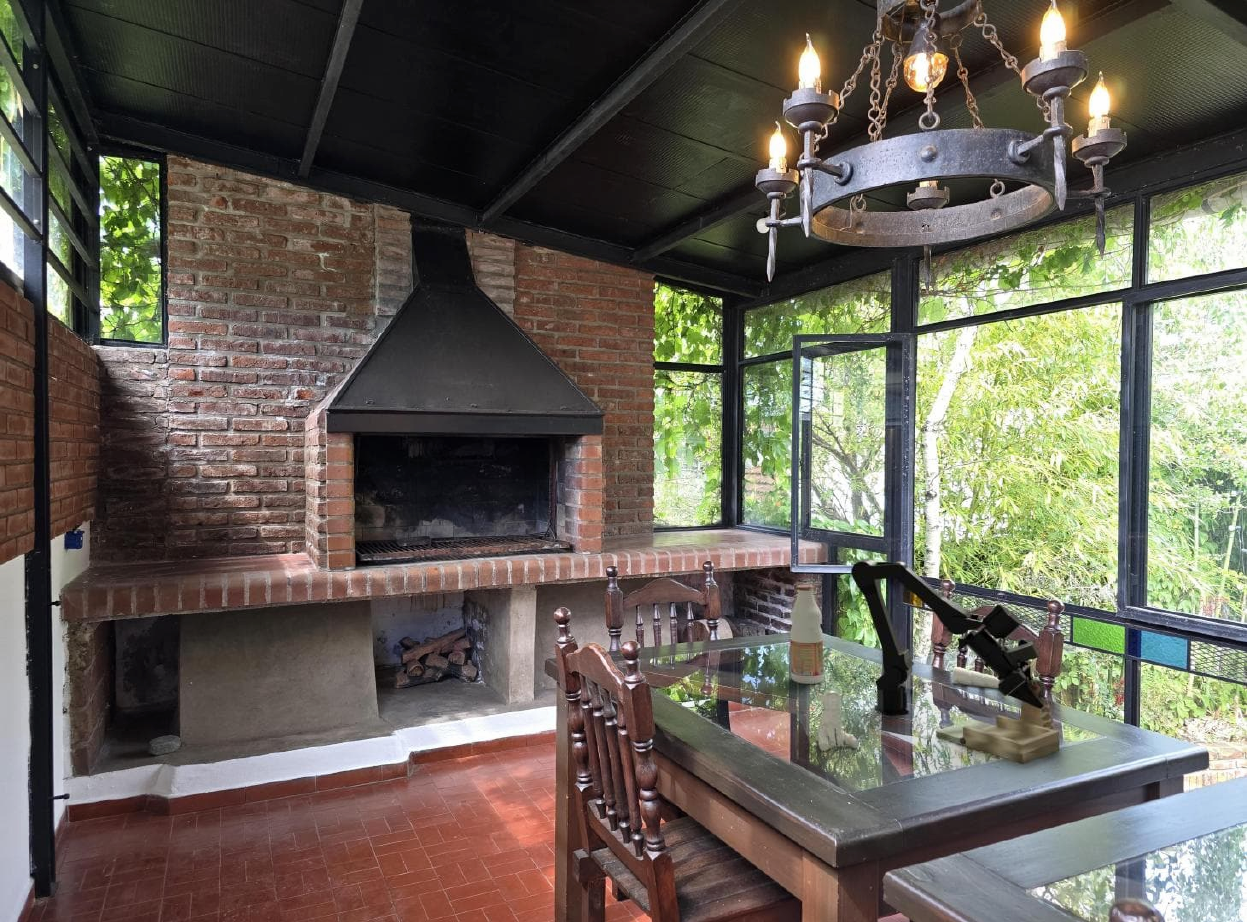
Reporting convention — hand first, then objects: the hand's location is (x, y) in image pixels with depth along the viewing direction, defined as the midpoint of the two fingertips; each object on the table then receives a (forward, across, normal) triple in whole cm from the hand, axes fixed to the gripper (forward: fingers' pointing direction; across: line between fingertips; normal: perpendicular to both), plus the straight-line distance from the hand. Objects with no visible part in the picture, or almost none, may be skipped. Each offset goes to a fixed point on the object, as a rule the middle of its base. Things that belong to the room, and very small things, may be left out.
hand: (1043, 703), depth 184 cm
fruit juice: (-39, +18, +49) cm, 65 cm away
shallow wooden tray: (-2, -13, +11) cm, 17 cm away
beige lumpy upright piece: (-25, -30, +34) cm, 52 cm away
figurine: (+4, 0, +6) cm, 7 cm away
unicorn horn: (-4, +34, +15) cm, 38 cm away
